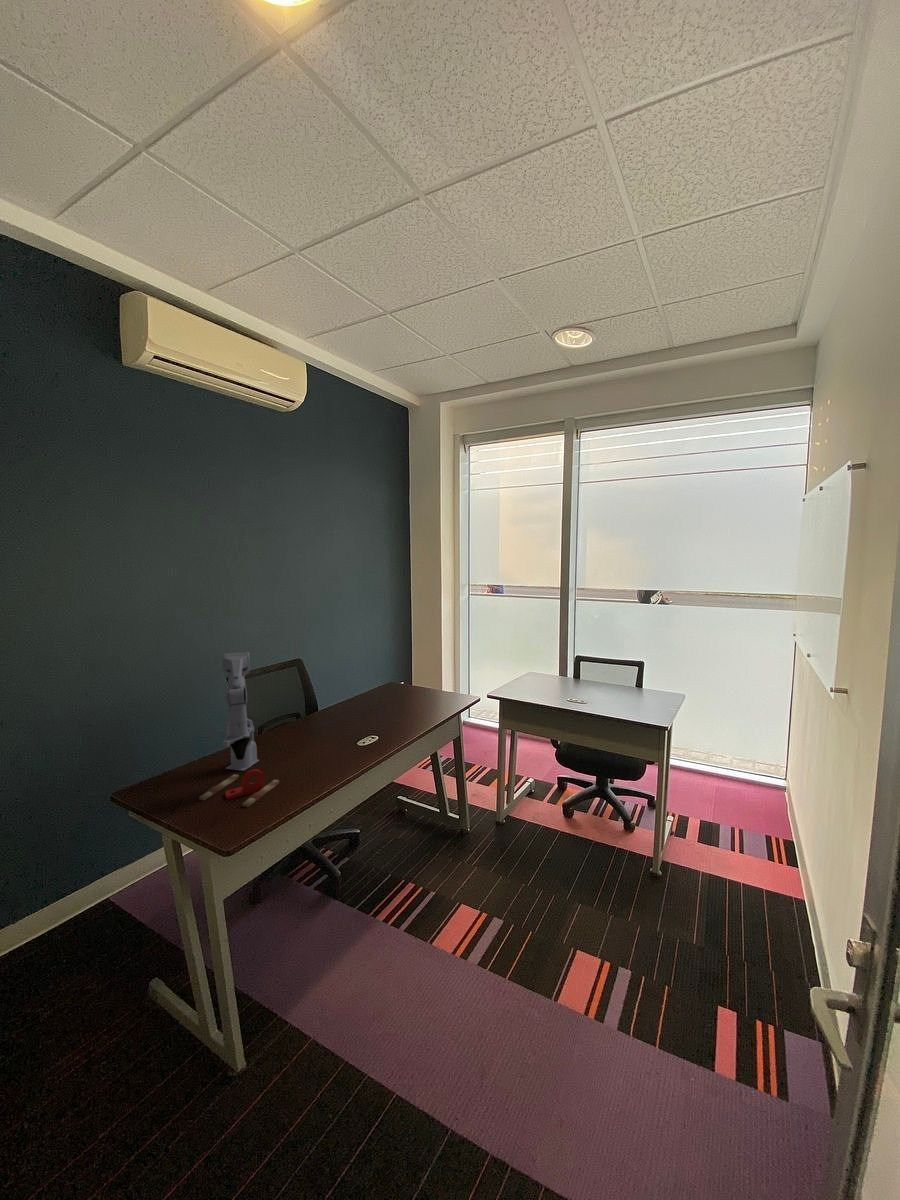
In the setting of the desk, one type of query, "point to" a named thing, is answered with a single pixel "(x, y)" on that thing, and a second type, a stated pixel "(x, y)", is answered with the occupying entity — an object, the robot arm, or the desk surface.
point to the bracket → (247, 785)
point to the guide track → (231, 779)
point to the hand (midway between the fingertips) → (240, 758)
